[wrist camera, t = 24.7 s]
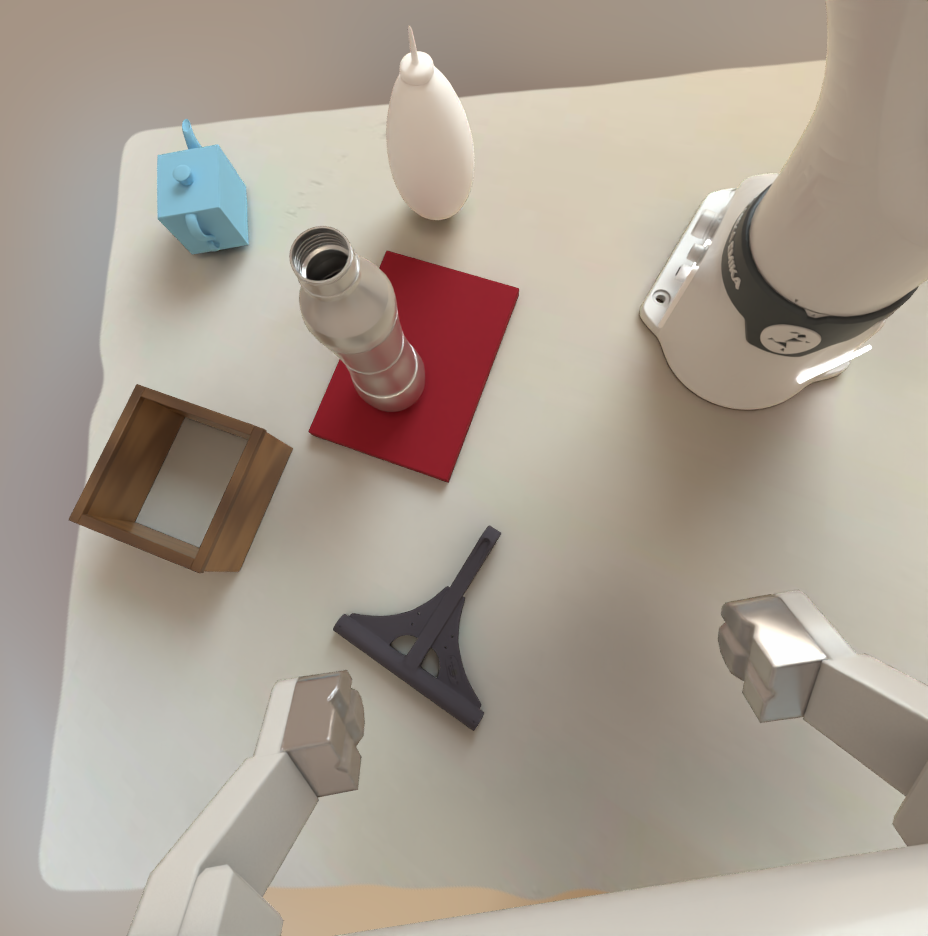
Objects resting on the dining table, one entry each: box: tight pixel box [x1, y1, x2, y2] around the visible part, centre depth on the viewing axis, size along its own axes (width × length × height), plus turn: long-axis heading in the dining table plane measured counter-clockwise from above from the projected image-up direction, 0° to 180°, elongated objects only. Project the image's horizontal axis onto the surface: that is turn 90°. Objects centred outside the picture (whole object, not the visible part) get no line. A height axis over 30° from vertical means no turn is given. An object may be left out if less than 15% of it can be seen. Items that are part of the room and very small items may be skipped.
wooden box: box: [69, 384, 293, 573], centre depth 46 cm, size 13×13×6 cm
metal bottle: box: [289, 226, 425, 412], centre depth 38 cm, size 6×7×20 cm
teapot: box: [157, 119, 249, 254], centre depth 51 cm, size 12×6×8 cm, turn 7°
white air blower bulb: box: [386, 25, 475, 220], centre depth 44 cm, size 8×8×18 cm
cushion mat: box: [309, 251, 519, 482], centre depth 49 cm, size 20×14×1 cm
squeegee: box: [333, 526, 501, 731], centre depth 44 cm, size 14×15×3 cm
